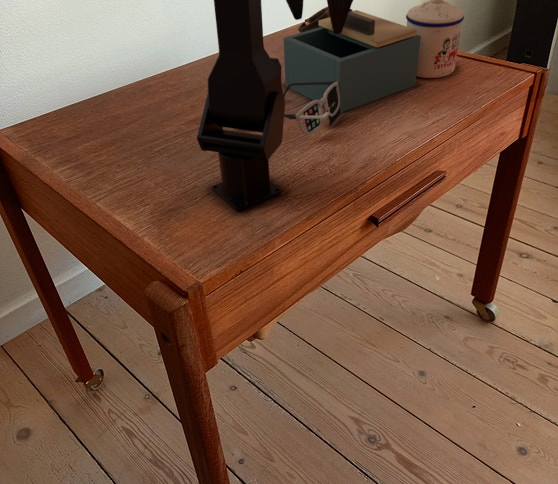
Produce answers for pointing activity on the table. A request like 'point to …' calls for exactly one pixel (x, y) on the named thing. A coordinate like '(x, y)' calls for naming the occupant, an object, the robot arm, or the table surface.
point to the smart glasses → (312, 114)
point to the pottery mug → (315, 20)
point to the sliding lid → (371, 29)
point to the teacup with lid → (436, 36)
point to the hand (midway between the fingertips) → (317, 26)
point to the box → (349, 66)
